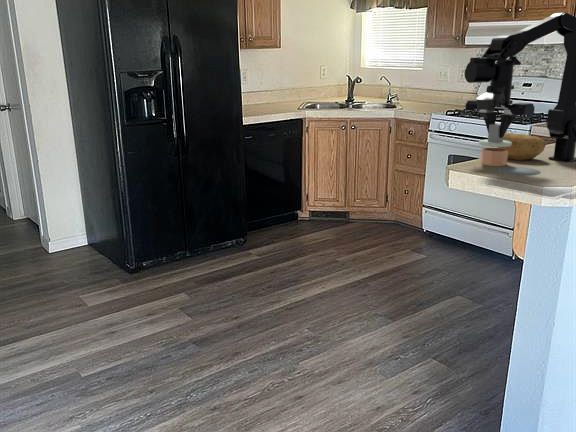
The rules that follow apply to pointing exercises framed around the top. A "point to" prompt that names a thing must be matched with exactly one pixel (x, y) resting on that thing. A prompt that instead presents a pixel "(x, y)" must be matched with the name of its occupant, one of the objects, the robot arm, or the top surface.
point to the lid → (495, 138)
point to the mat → (519, 171)
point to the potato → (523, 146)
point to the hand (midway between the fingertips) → (495, 137)
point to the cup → (493, 156)
